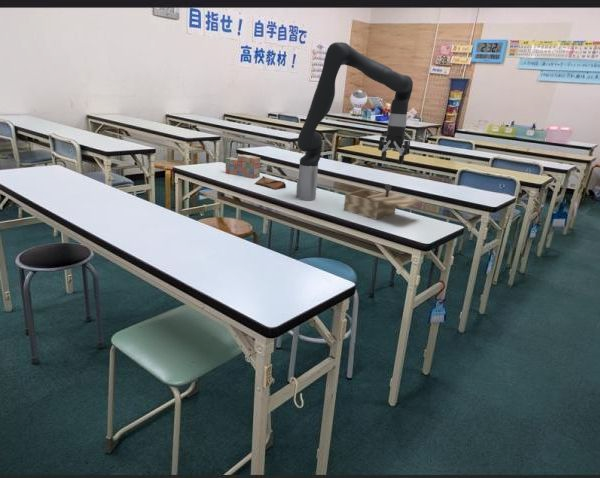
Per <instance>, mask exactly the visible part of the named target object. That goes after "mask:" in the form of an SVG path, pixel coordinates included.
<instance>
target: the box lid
mask: <svg viewBox="0 0 600 478" xmlns="http://www.w3.org/2000/svg"><path fill="white" fill-rule="evenodd" d="M384 190H385V191H384V192H379V193H380V194H376V195H372V196H368V197H367V198H366V199H368V200H372V201H376V202H379V203H383V204H387V205H391V206H394V207H396V208H398V209H402V210H403V209H406V208H411V207H413V206H416V205H419V204H422V203H423V199H417V198H414V197H409V196H405V195H401V194H397V193H393V192H390V191H391V190H392V185H391V184H386V185H384Z"/></svg>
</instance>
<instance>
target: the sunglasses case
mask: <svg viewBox="0 0 600 478" xmlns="http://www.w3.org/2000/svg"><path fill="white" fill-rule="evenodd" d="M253 185H256V186H257V185H258V186H260V187H264V188H268V189H272V190H275V191H277V190H282V189H286V187H287V186H286V183H285V182H284V181H282V180H277V179H273V178H269V177H266V176H262V177H261V178H259V179H258V180H257V181H256V182H255V183H253Z"/></svg>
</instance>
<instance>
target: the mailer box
mask: <svg viewBox="0 0 600 478" xmlns="http://www.w3.org/2000/svg"><path fill="white" fill-rule="evenodd" d="M380 193H381V192H378V191H374V190H370V189H365V188H364V189H359V190H357V191H351V192H347V193H345V196H344V205H343V211H344V212H348V213H352V214H355V215H358V216H362V217H365V218H368V219H372V220H374V221H376V220H379V219H383V218H385V217H388V216H392V215H395V214H396V208H397V207H394V206H391V205H387V204H383V203H379V202H376V201H372V200H368V199H366V198H367V197H368V196H372V195H376V194H380Z"/></svg>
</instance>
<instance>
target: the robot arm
mask: <svg viewBox="0 0 600 478" xmlns="http://www.w3.org/2000/svg"><path fill="white" fill-rule="evenodd" d="M342 66H347V67H352V68H354V69H356V70H358V71H359V72H360V73H362V74H363V75H365V77H367V78H369V79H371V80H373V81H375V82H377V83H379V84H381V85H384V86H385V87H387V88H389V89H390V90H391V91H393V92H395V93H394V94H395V95H394V98H393V99H392V101H391V105H390V110H389V111H390V112H389V116H388V121H387V123H388V124H387V128H386V129H387V130H386V136H384V135H383V136H382V135H381V136H380V138H379V142H378V146H377V149H378V151H380V152H381V156H380V159H381V161H382V162H385V161H386V160H387V151H388V150H389V149H392V150H396V151H397V152H398V154H399V157H398V163H397V164H398V165H403V163H404V160H405V156H406V155H410V147H411V141H410V140H407V139H406V140H404V138H405V133H406V129H407V128H406V127H407V120H408V119H407V117H408V109H409V102H410V99H411V95H412V92H413V86H414V83H413V79H412V77H410V75H404V74H403V73H402V74H401V73H398V72H397V71H394V70H393V69H392V68H390V67H388V66H387V65H385V64H383V63H380V62H378V61H375V60H374V59H371V58H369V57H367V56H365V55H364V54H362V53H360V52H359V51H357V50H356V49H355V48H353V47H352V46H351V45H349V44H348V43H346V42H341V41H340V42H339V41H338V42H333V43H331V44H330V45H329V46H328V48H327V49H326V53H325V56H324V60H323V65H322V69H321V73H320V76H319V78H318V82H317V85H316V89H315V92H314V94H313V97H312V100H311V104H310V107H309V109H308V112H307V116H306V117H305V118H306V119H305V121H304V123H303V125H302V127H301V130H300V132H299V134H298V137H297V147H298V149H299V150H300V152H305V153H304V155H303V156H302V157H301V158H299V169H298V171H299V172H298V178H296V180H297V181H296V192H295V193H296V194H295V196H296V198H298V199H299V200H302V201H314V200H316V199H317V198H316V196H317V184H318V172H319V171H318V170H319V161H321V160H320V159H321V155H322V154H321V153H322V146H323V138H322V136H321V134H320V133H319V132H317V128H318V126H319V124H320V123H321V122H322V121H323V120H324V119H325V117H327V115H328V113H329V112H330V111H331V108H332V105H333V102H334V100H335V96H336V80H337V76H338V73H339V71H340V68H341V67H342ZM385 142H386V144H385Z"/></svg>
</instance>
